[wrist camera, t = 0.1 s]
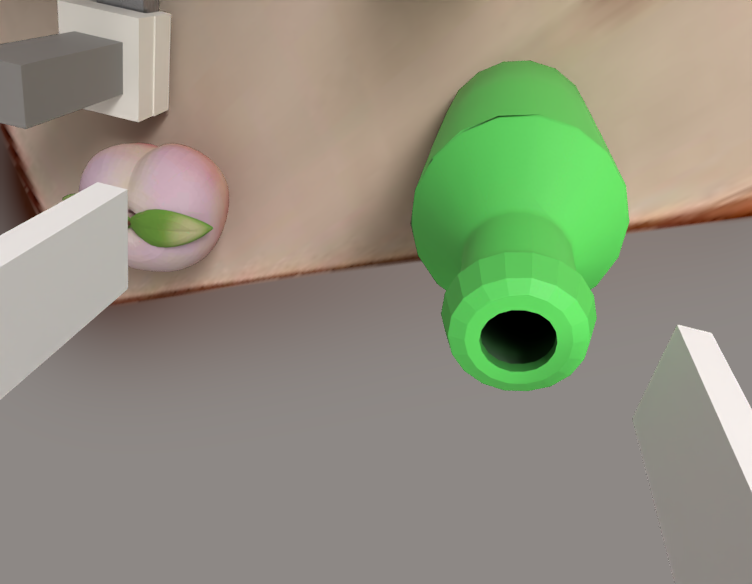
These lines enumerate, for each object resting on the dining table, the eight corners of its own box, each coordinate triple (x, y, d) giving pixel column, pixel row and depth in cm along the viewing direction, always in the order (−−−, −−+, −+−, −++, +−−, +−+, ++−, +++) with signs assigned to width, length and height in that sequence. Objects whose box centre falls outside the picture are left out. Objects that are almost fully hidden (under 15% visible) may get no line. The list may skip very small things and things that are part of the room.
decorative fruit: (142, 234, 49) (62, 296, 40) (119, 124, 45) (25, 165, 36) (261, 240, 47) (205, 305, 38) (248, 126, 43) (182, 169, 35)
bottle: (445, 200, 43) (377, 449, 21) (441, 62, 39) (354, 197, 18) (584, 198, 42) (663, 469, 20) (594, 54, 38) (708, 192, 16)
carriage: (92, -5, 41) (-66, 11, 30) (171, 13, 40) (40, 36, 29) (95, 92, 44) (-48, 140, 33) (168, 109, 43) (49, 163, 32)
